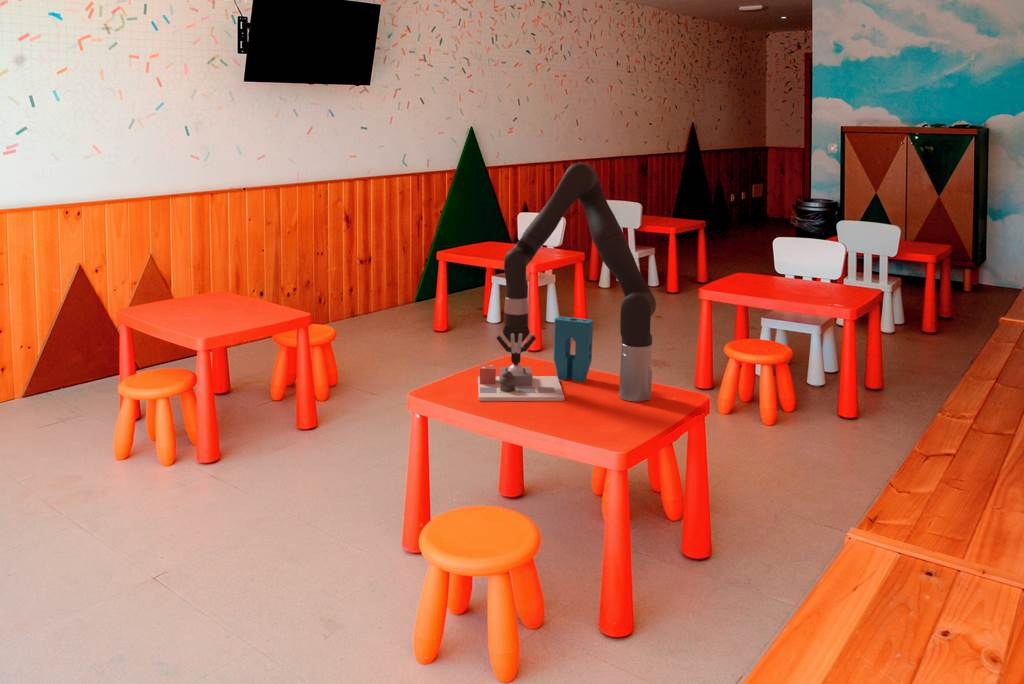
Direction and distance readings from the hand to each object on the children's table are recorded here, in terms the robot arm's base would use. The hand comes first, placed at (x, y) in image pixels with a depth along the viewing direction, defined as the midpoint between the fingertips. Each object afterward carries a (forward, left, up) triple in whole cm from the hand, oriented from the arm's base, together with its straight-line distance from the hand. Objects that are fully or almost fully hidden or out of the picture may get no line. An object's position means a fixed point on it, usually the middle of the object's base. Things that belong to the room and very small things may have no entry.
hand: (515, 364), depth 289 cm
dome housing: (0, 0, -6) cm, 6 cm away
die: (+9, 0, -6) cm, 11 cm away
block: (-19, -7, -7) cm, 22 cm away
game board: (-1, +5, -7) cm, 9 cm away
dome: (0, 0, -5) cm, 5 cm away
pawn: (+3, +9, -6) cm, 11 cm away
